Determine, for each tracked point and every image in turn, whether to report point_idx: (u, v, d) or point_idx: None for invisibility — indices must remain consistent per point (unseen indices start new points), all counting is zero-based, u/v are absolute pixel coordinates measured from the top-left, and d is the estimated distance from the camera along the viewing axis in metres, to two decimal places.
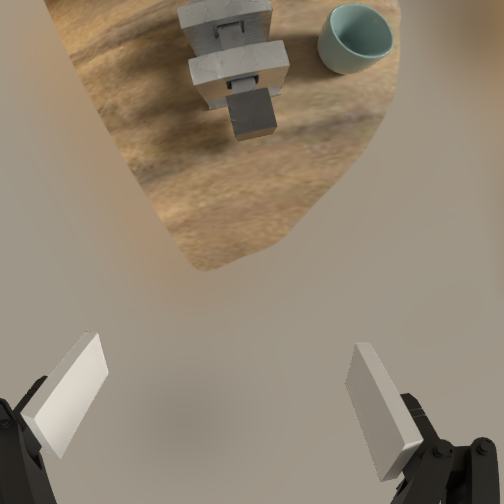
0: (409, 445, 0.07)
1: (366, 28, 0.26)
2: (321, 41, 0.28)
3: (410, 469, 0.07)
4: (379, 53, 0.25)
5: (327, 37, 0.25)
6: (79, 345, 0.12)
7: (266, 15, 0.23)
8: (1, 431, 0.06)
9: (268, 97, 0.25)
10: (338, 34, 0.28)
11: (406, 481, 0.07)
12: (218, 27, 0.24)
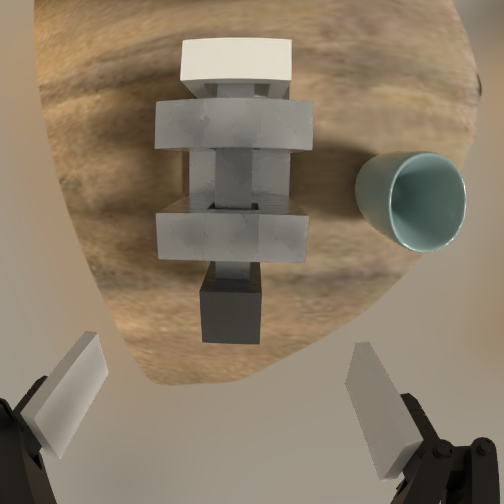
0: (409, 445, 0.07)
1: (433, 184, 0.21)
2: (365, 187, 0.23)
3: (410, 469, 0.07)
4: (435, 244, 0.20)
5: (377, 198, 0.20)
6: (79, 345, 0.12)
7: None
8: (1, 431, 0.06)
9: (258, 307, 0.19)
10: None
11: (406, 481, 0.07)
12: (217, 148, 0.18)
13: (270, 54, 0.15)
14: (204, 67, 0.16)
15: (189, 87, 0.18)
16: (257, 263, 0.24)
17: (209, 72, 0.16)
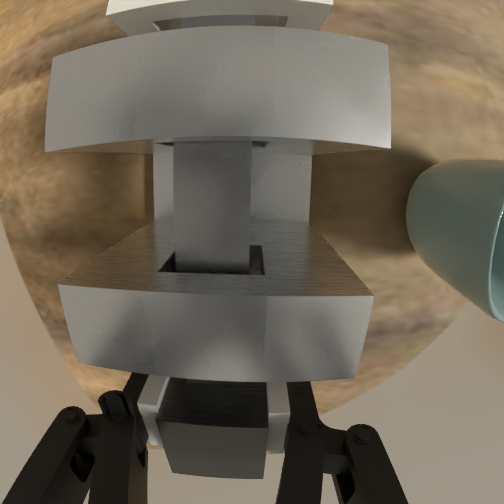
0: (275, 415, 0.09)
1: None
2: (436, 216, 0.13)
3: (284, 450, 0.09)
4: None
5: (465, 240, 0.10)
6: None
7: (353, 147, 0.08)
8: (111, 424, 0.08)
9: (263, 444, 0.09)
10: None
11: None
12: (178, 143, 0.08)
13: None
14: None
15: (132, 35, 0.08)
16: None
17: None
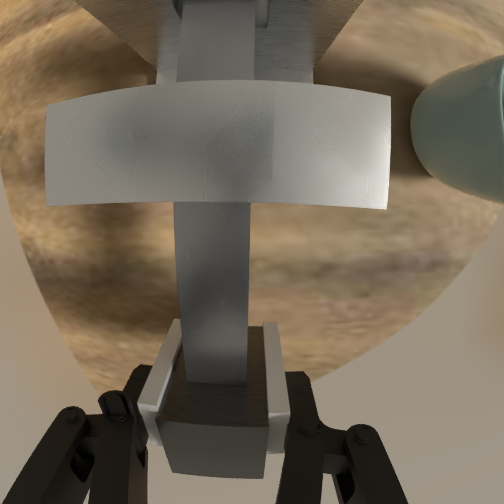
0: (275, 415, 0.09)
1: None
2: (441, 110, 0.11)
3: (284, 450, 0.09)
4: None
5: (473, 116, 0.09)
6: (174, 332, 0.14)
7: None
8: (111, 424, 0.08)
9: (263, 443, 0.09)
10: None
11: None
12: None
13: None
14: None
15: None
16: (260, 340, 0.14)
17: None
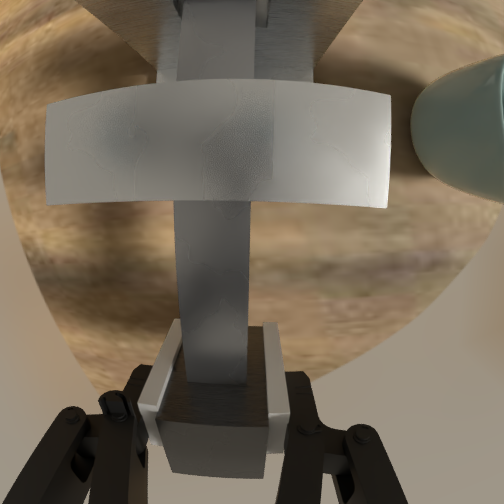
0: (274, 415, 0.09)
1: None
2: (441, 110, 0.11)
3: (284, 450, 0.09)
4: None
5: (474, 115, 0.09)
6: (174, 332, 0.14)
7: None
8: (111, 424, 0.08)
9: (263, 443, 0.09)
10: None
11: None
12: None
13: None
14: None
15: None
16: (260, 340, 0.14)
17: None
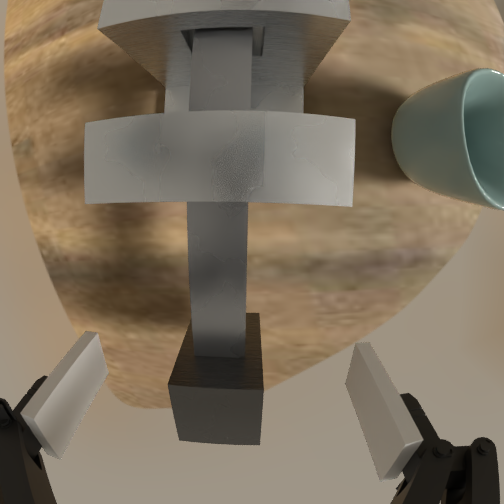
0: (409, 445, 0.07)
1: (496, 125, 0.12)
2: (414, 122, 0.14)
3: (410, 469, 0.07)
4: None
5: (440, 127, 0.11)
6: (79, 345, 0.12)
7: (327, 31, 0.09)
8: (1, 431, 0.06)
9: (259, 406, 0.12)
10: None
11: (406, 481, 0.07)
12: None
13: None
14: None
15: None
16: (256, 324, 0.17)
17: None
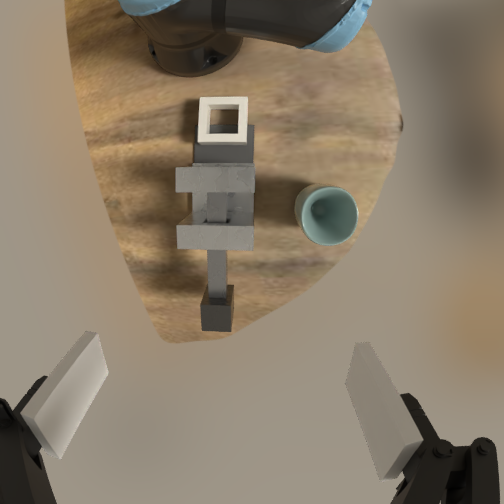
0: (409, 445, 0.07)
1: (339, 204, 0.39)
2: (295, 207, 0.41)
3: (410, 469, 0.07)
4: (336, 240, 0.38)
5: (298, 215, 0.38)
6: (79, 345, 0.12)
7: None
8: (1, 431, 0.06)
9: (229, 312, 0.39)
10: (313, 202, 0.40)
11: (406, 481, 0.07)
12: None
13: None
14: None
15: (200, 110, 0.39)
16: (232, 288, 0.44)
17: None
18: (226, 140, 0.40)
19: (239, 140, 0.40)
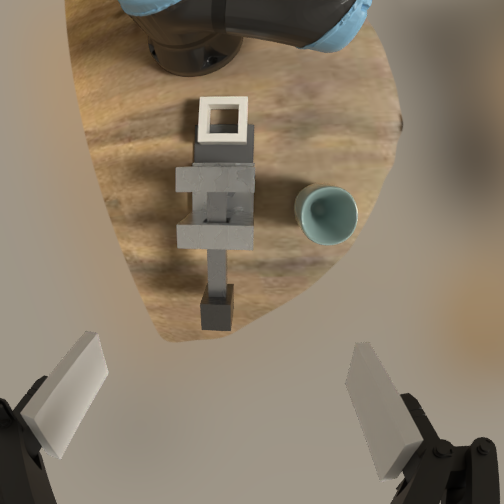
0: (409, 445, 0.07)
1: (339, 203, 0.39)
2: (295, 207, 0.41)
3: (410, 469, 0.07)
4: (336, 240, 0.38)
5: (298, 214, 0.38)
6: (79, 345, 0.12)
7: None
8: (1, 431, 0.06)
9: (229, 312, 0.39)
10: (313, 201, 0.40)
11: (406, 481, 0.07)
12: None
13: None
14: None
15: (200, 109, 0.39)
16: (231, 287, 0.44)
17: None
18: (226, 140, 0.40)
19: (239, 140, 0.40)
